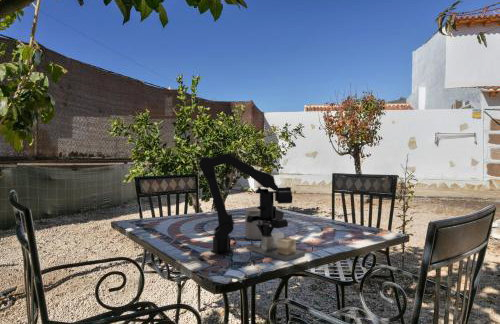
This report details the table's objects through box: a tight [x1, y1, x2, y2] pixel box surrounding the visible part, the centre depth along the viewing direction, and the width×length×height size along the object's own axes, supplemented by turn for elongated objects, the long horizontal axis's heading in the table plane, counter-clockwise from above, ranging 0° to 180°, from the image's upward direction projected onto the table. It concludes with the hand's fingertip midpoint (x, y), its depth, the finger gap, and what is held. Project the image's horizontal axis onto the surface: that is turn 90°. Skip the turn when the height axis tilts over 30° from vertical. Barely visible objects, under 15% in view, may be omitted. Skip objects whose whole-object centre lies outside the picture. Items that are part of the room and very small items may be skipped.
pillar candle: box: [244, 205, 265, 240], centre depth 171 cm, size 10×10×15 cm
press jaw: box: [260, 231, 285, 250], centre depth 145 cm, size 10×3×5 cm, turn 132°
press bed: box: [245, 241, 306, 262], centre depth 145 cm, size 11×22×2 cm, turn 42°
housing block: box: [277, 236, 297, 255], centre depth 140 cm, size 5×5×5 cm
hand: (266, 241), depth 148 cm, fingers closed
